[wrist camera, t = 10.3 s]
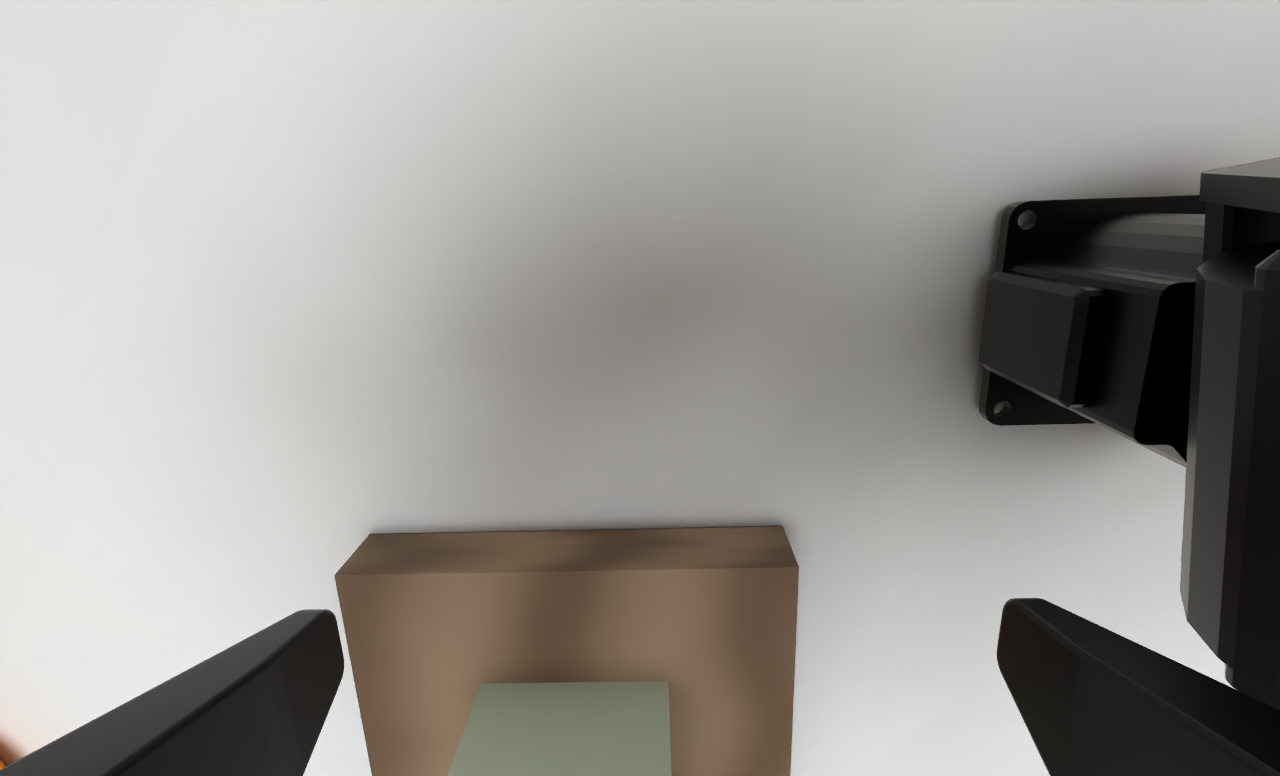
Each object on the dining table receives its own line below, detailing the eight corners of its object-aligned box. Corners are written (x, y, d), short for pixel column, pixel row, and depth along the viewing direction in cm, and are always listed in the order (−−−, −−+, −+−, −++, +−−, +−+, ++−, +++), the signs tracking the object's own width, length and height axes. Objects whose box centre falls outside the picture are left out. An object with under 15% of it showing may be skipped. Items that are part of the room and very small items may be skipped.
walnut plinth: (782, 526, 21) (798, 566, 19) (771, 844, 25) (784, 912, 23) (369, 534, 22) (334, 575, 19) (422, 846, 26) (398, 913, 23)
